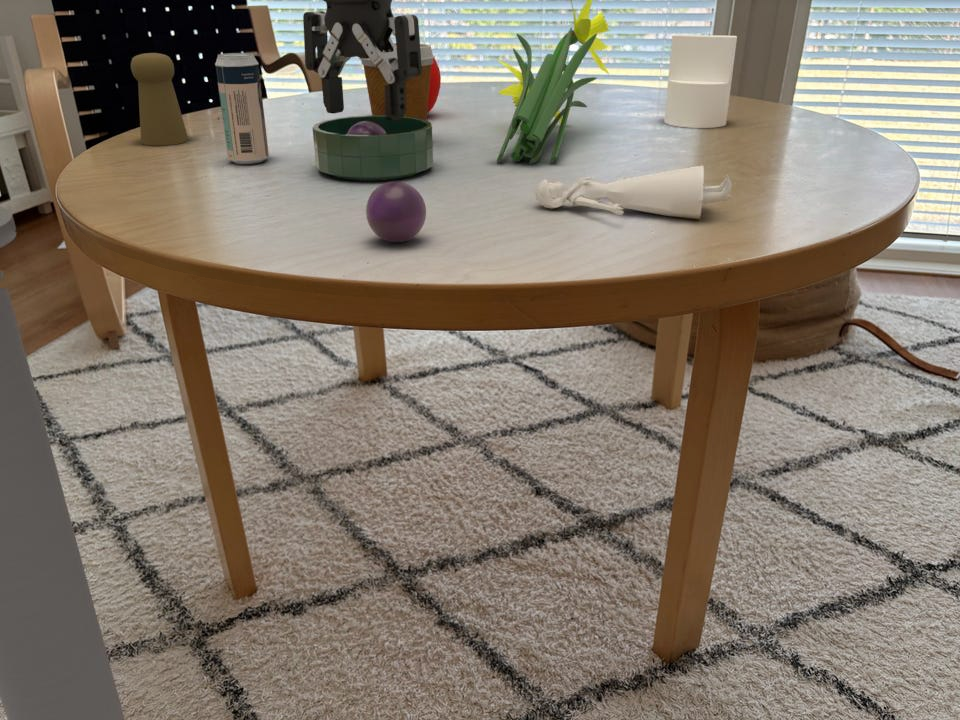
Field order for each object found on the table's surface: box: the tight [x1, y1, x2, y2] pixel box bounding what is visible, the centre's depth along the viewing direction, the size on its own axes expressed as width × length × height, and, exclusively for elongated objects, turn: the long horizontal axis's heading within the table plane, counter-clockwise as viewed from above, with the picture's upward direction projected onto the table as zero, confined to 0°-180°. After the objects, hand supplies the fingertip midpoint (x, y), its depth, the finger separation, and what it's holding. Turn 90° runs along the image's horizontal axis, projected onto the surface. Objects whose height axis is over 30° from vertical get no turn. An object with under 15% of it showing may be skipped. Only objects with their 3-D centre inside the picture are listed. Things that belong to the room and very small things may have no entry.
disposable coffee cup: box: [358, 42, 436, 121], centre depth 105 cm, size 10×10×12 cm
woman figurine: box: [534, 165, 732, 220], centre depth 76 cm, size 12×4×18 cm
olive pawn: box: [130, 52, 190, 147], centre depth 106 cm, size 6×6×11 cm
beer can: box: [214, 52, 270, 165], centre depth 95 cm, size 5×5×12 cm
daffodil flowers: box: [496, 0, 611, 165], centre depth 107 cm, size 17×15×35 cm
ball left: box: [347, 121, 387, 135], centre depth 91 cm, size 5×5×5 cm
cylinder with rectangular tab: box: [663, 33, 738, 129], centre depth 118 cm, size 9×9×12 cm
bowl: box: [312, 114, 434, 182], centre depth 92 cm, size 13×13×5 cm
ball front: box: [365, 180, 427, 243], centre depth 68 cm, size 5×5×5 cm
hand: (364, 116), depth 89 cm, fingers open, 8 cm apart
